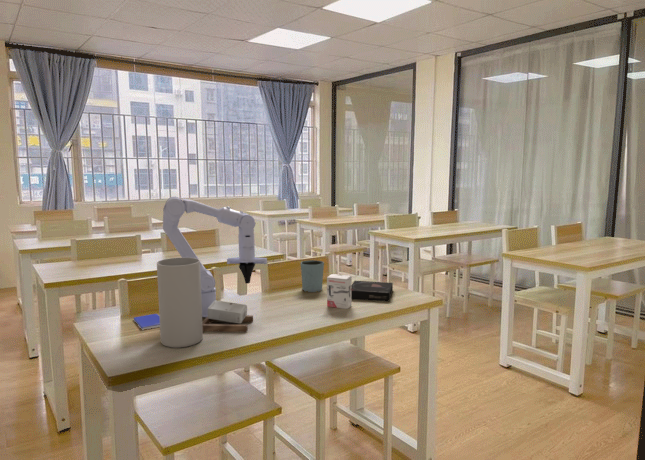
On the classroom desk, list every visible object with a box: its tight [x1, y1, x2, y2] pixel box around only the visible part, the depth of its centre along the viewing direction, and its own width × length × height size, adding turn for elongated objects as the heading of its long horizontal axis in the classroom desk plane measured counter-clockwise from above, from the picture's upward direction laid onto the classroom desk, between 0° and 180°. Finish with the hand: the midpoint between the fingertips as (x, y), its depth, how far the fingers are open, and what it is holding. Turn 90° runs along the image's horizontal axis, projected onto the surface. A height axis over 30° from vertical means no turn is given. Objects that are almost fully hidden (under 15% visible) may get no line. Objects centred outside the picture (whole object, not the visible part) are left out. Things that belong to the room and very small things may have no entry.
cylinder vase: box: [156, 257, 204, 349], centre depth 146 cm, size 12×12×25 cm
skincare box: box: [208, 299, 248, 324], centre depth 163 cm, size 6×4×12 cm
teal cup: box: [300, 259, 325, 293], centre depth 207 cm, size 10×10×12 cm
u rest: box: [202, 314, 254, 333], centre depth 161 cm, size 15×11×2 cm
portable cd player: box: [351, 280, 394, 303], centre depth 199 cm, size 16×17×4 cm
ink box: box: [326, 273, 353, 310], centre depth 182 cm, size 9×5×12 cm, turn 68°
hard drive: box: [133, 313, 160, 331], centre depth 165 cm, size 2×8×12 cm
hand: (247, 282), depth 177 cm, fingers closed
